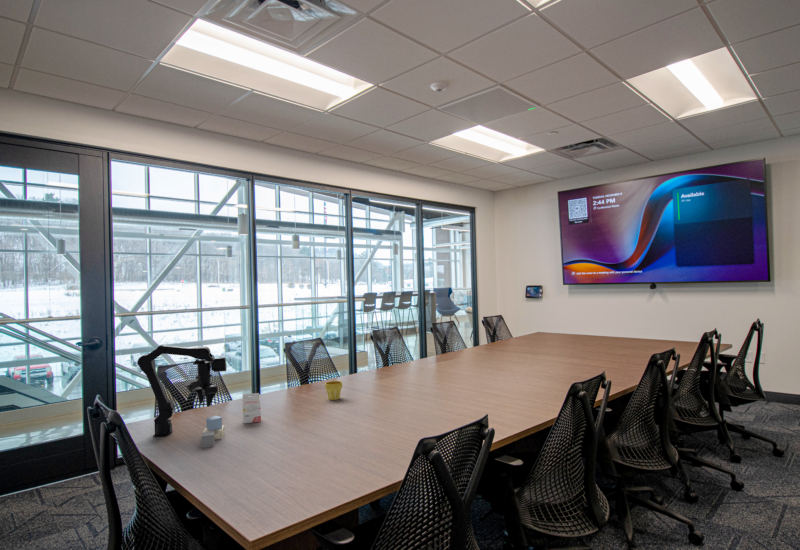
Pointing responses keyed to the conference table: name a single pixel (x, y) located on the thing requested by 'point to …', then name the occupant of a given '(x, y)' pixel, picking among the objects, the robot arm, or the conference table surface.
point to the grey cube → (207, 439)
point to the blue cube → (214, 423)
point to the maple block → (217, 432)
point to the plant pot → (333, 389)
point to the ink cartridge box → (251, 408)
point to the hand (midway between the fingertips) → (204, 404)
